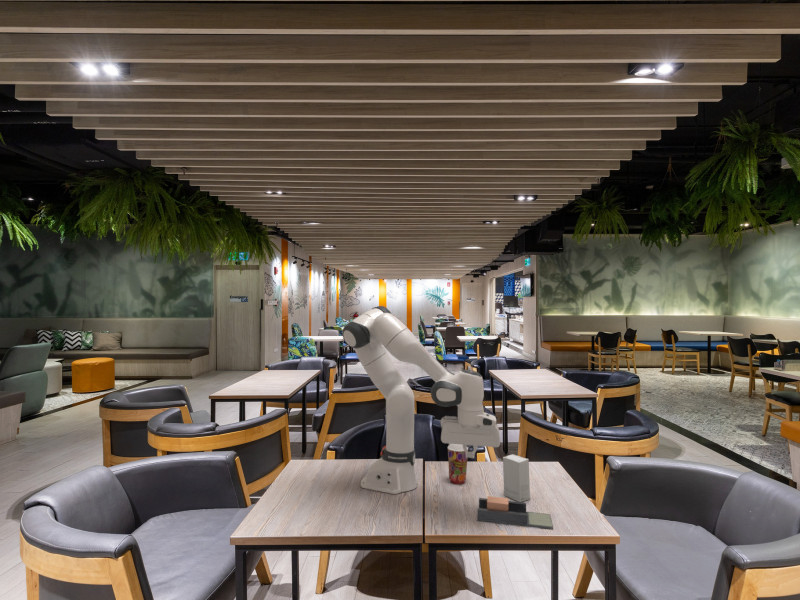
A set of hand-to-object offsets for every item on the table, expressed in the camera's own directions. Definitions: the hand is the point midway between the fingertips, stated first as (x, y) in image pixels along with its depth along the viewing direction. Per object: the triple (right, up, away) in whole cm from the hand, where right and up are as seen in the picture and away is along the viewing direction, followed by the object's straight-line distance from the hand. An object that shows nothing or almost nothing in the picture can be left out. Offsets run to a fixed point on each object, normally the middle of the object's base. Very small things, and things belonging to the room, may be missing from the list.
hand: (470, 457), depth 158 cm
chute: (+14, -19, -4) cm, 24 cm away
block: (+9, -19, -2) cm, 21 cm away
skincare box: (+19, -20, +14) cm, 31 cm away
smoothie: (-1, -20, +29) cm, 35 cm away
